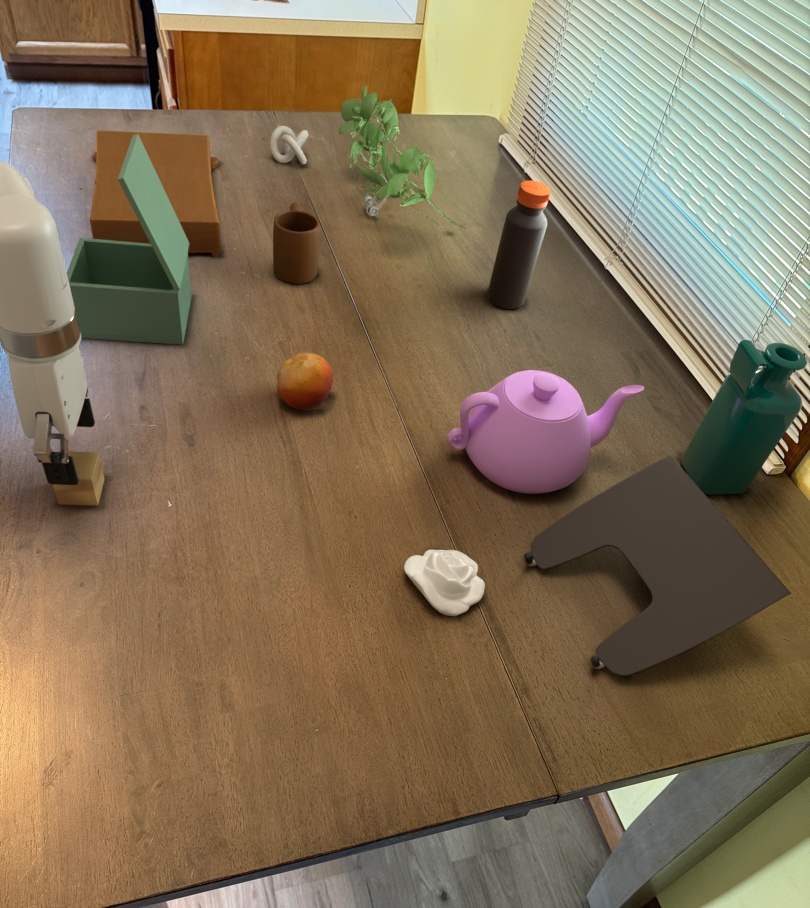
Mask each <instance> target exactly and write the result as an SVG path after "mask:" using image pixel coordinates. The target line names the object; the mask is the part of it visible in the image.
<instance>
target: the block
mask: <svg viewBox="0 0 810 908" xmlns="http://www.w3.org/2000/svg"><path fill="white" fill-rule="evenodd" d="M58 452H60V450H58ZM69 456H72V457H73V461H74V464H75V468H76V471H77V475H78V479H79V481H78V484H77V485H55V484H52V487H53V489H54V493H55V498H56V500H57V503H58V505H63V506H64V505H66V506H68V505H69V506H91V507H92V506H93V507H94V506H96V507H98V506H99V504H100V499H101V495H102V492H103V488H104V484H105V479H106V478H105V475H104V470H103V465H102V462H101V457H100V453H99V452H89V451H69Z"/></svg>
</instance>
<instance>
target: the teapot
mask: <svg viewBox="0 0 810 908" xmlns="http://www.w3.org/2000/svg"><path fill="white" fill-rule="evenodd" d="M644 389H645V386H644V385H641V384H631V385H626V386H623V387H621V388H619V389H617V390H616V391H614V392H613V393H612V394H611V395H610V396H609V398H608V399H607V400H606V401H605V402H604V404H603V405H602V407H601V408H600V409H599V410H597V411H596V412H594V413H592V414H590V415H588V414H587V411H586V407H585V405H584V402H583V399H582V398H581V396H580V393H579V392H578V391H577V389H576V388H575V387H574V386H573V385H572V384H571V383H570V382H569V381H567V380H566V379H564V378H562V377H561V376H559V375H557V374H554V373H552V372H548V371H543V370H536V369H527V370H521V371H517V372H514V373H512V374H510V375H508V376H507V377H505V378H503V379H502V380H501V381H499V382H498V383H496V384H495V385H494V386H492V387H491V388H490V389H489V390H487V391H480V392H475V393H472V394H470V395H468V396H467V397H465V399H464V400H463V402H462V404H461V406H460V410H459V420H460V428H459V427H455V428H452V429H451V430H450V431H449V432H448V434H447V438H446V439H447V440H446V441H447V443H448V445H449V446H450V447H451V448H453V449H454V450H458V451H460V450H464V449H465V451H466V454H467V456H468V457H469V459H470V461H471V462H472V464H473V465H474V466H475V467H476V469H477V470H478V471H479V472H480V474H482V475H483V476H484V477H486V478H487V480H489V481H491V482H492V483H493V484H496V485H497V486H499V487H501V488H503V489H505V490H509V491H512V492H515V493H519V494H529V495H530V494H532V495H534V494H537V495H538V494H544V493H545V494H546V493H551V492H554V491H555V492H556V491H558V490H561V489H563V488H566V487H568V486H570V485H571V484H573V483H574V482H575V481H576V480H577V479H578V478H580V477H581V476H582V474H583V473H584V471H585V469H586V467H587V464H588V462H589V459H590V458H589V457H590V452H591V449H592V448H593V447H595V446H597V445H599V444H600V443H601V442H603V441H604V440H605V439H606V438H607V436H608V435H609V434H610V432H611V431H612V429H613V427H614V424H615V422H616V419H617V417H618V414H619V412H620V411H621V409H622V407H623V406H624V404H625V403H626V402H627V401H628V400H629V399H631V398H632V397H634V396H636V395H638V394H640V393H642V392H643V391H644Z"/></svg>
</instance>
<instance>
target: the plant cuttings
mask: <svg viewBox="0 0 810 908" xmlns="http://www.w3.org/2000/svg"><path fill="white" fill-rule="evenodd" d="M367 93H368V85H364V86H363V87H362V89H361V99H360V98H358V97H354V98H350V99H347V100H345V101H343V103H341V106H340V107H341V108H340V115H341V118H342V120H343V121H344V123H343V124H342V125H340V127H339V128H338V132H337V134H338V135H342V134H343V135H344V134H345V133H347V132H350V137H351V138H355V137H357V136H358V135H359V136H361V137H362V139H363V141H362V140H359V139H357V140H355V141H354V142H353V143H352V144H351V145H350V148H349V158H348V163H349V169H352V167H353V165H354V166H355V167H356V168H357V169H358V170H359V172H360V173H361V174H362V175H363V176H364V177H365V178H366V179H367V180H369V181H370V182H369V183H367V184H365V186H366V187H365V188H364V196H365V197H363V198H364V199H363V204H364V206H366V210H368V209H369V212H368V211H366V213H367V215H368V217H373V216H374V217H375V216H377V215H378V213H379V210H380V209H381V208H382V206H383V205H384V204H385V203H386V202H387V201H388V199H389V198H393V199H398V198H399V199H401V200H403V199H404V200H403V201H402V202H401V203H400V207H408V206H411V207H413V208H414V209H415V210H416V211H417V212H419V213H421V214H422V215H423V216H424V217H426V219H429V221H431V222H432V223H434V224H435V225H437V226H438V227H439V228H441V229H443V230H444V231H445V232H448V233H449V231H448V230H447V229H446V228H444V227H443V226H442V225H440V224H438V223H437V222H436V221H434V220H433V219H432V218H430V217H429V216H428V215H426V214H424V213H423V212H421V211H420V210H419V209H417V208H416V207H414V206H413V205H415V204H418V203H420V202H422V201H424V200H425V201H426V203H429V204H430V205H431V206H432V207H433V208H434V209H435V210H436V211H437V212H438V213H439V214H440V215H441V216H442V218H444V219H446V220H447V221H448V222H451V223H452V224H453V225H455V226H457V227H459V228H462V229H465V230H466V229H467V227H466V226H465V227H464V226H462V225H460V224H458V223H456V222H455V221H454V220H452V219H451V218H449V217H448V216H447V215H445V214H444V213H443V212H442V211H441V210H439V208H437V207H436V206H435V204H434V203H432V201H430V199H431V196H432V195H433V192H434V190H435V186H436V179H437V171H436V170H437V169H436V165H435V163H434V161H433V160H434V159H433V158H430V160H429V161H428V162H427V158H428V157H431V156H432V154H430V155H428V154H427V152H425V151H424V152H420V149H419V148H418V146H416V145H414V146H413V145H412V146H411V147H409V148H406V149H405V150H404V151H403V152H402V151H401V149H399V148H398V147H397V146H396V145H395V141H396V140H397V138H398V135H400V134H401V133H400V129H399V127H400V126H399V116H398V111H397V108H396V107H395V105H394V104H393V102H392V100H393V98H389V99H388V100H383V101H378V98H379V95H378V93H377V92H374V91H371V92H370V93H369V94H368V95H367ZM375 115H378V116H375ZM379 117H380V118H379ZM372 118H373V119H375V120H376V123H377V125H376V124H375V123H374V122H373V121H372ZM378 125H379V126H378ZM382 125H383V128H384V129H382ZM352 130H353V131H352ZM356 132H357V133H356ZM395 134H398V135H395ZM387 142H388V143H390V144H391V145H392V156H391V157H392V158H391V163H390V161H389V155H388V147H387ZM379 144H380V145H379ZM395 149H396V150H395ZM365 151H367V152H366V154H367V156H369V159H368V160H367V159H366V158H365V156H364V155H363V152H365ZM396 151H397V152H396ZM369 153H370V154H369ZM396 153H397V154H398V156H399V159H398V160H399V161H398V164H397V157H396ZM358 156H359V157H358ZM351 157H352V158H351ZM360 158H361V161H362V162H367V163H368V167H369V168H366V167H361V166H358V164H357V163H359V161H358V160H360ZM379 162H380V165H378V164H379ZM426 162H427V163H426ZM425 163H426V164H425ZM378 168H380V170H381V172H380V171H379V172H377V171H376V169H378ZM420 171H421V172H422V171H423V173H422V175H423V176H422V178H423V179H422V180H423V181H422V182H423V188H424V189H423V190H424V193H422V192H421V191H420V190H421V188H420V187H419V186H418V185H417V184H416V183H415V182H413V181H412V180H410V179H409V176H410V174H409V173H410V172H411V173H412V174H414V175H415V176H416V178H418V177H419V174H420ZM371 183H373V184H371ZM406 183H408V184H409V185H411V186H412V187H413V188H414V189H415V190H416V191H417V192H418V193H416V192H415V191H414V189H413V188H411V187H407V184H406ZM376 187H378V190H377V188H376ZM403 187H404V188H405V189H404V188H403ZM408 192H410V193H411V196H410V195H409V193H408ZM369 193H371V195H374V196H373V197H372V196H371V195H370V194H369ZM405 198H406V199H405ZM379 200H382V201H380V203H379V204H378V203H377V202H378V201H379ZM373 203H375V205H376V206H374V205H373Z"/></svg>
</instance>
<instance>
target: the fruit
mask: <svg viewBox="0 0 810 908" xmlns="http://www.w3.org/2000/svg"><path fill="white" fill-rule="evenodd" d="M276 379H277V382H276V383H277V384H276V390H277V394H278V396H279V398H280V399H281V400H282V401H283V402H284V403H286V405H288V406H290V407H291V408H293V409H297V410H300V411H310V410H318V411H321V406H322V405H323V404H324V402H325V401H326V400H327V398H328V397H331V391H332V389H333V385H334V374H333V371H332V368H331V365H330V364H329V362H328V361H327V360H326V359H325V358H324V357H323V356H320V354H319V355H318V354H316V353H313V352H300V353H298V354H294V355H293V356H291V357H289V358H288V359H286V360H285V361H284V362H283V363H282V365H280V367H279V370H278V372H277V378H276Z"/></svg>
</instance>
